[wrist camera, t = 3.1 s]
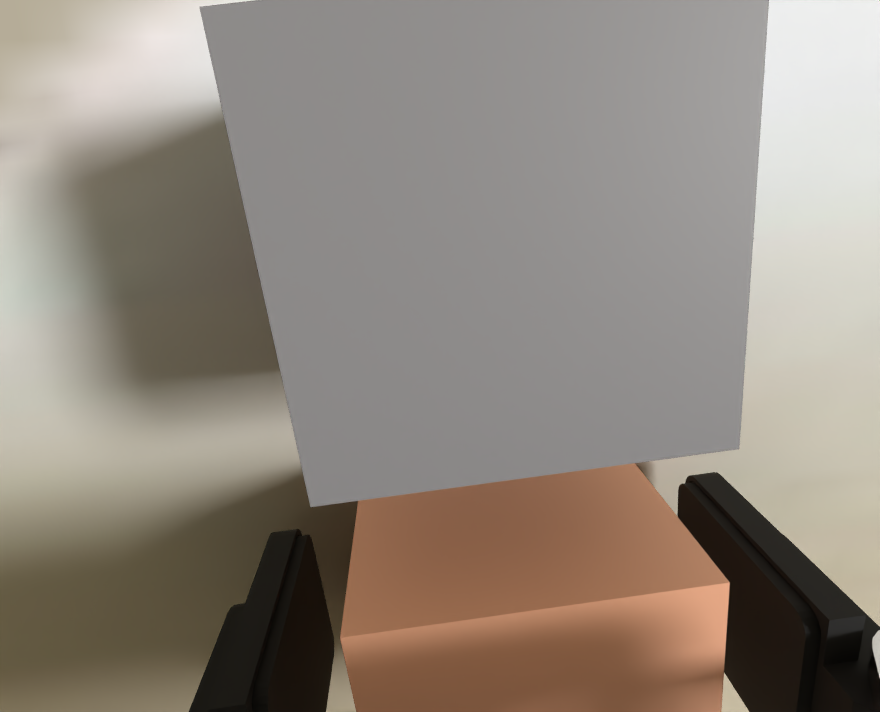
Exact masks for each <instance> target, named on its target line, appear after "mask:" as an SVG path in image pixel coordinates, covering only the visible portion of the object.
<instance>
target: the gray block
mask: <svg viewBox="0 0 880 712" xmlns="http://www.w3.org/2000/svg"><path fill="white" fill-rule="evenodd" d="M768 6H769V0H256V1H247V2H238V3H229V4H220V5H211V6H203V7H200V11H201V16H202V20H203V25H204V30H205V34H206V39H207V43H208V48H209V52H210V57H211V61H212V66H213V70H214V75H215V79H216V84H217V88H218V93H219V97H220V102H221V106H222V111H223V115H224V120H225V124H226V129H227V133H228V138H229V142H230V147H231V151H232V156H233V160H234V165H235V169H236V174H237V178H238V183H239V187H240V192H241V196H242V201H243V205H244V210H245V214H246V219H247V223H248V228H249V232H250V237H251V241H252V246H253V250H254V255H255V259H256V264H257V268H258V273H259V277H260V282H261V286H262V291H263V295H264V300H265V304H266V309H267V314H268V318H269V323H270V327H271V332H272V336H273V341H274V345H275V350H276V354H277V359H278V363H279V368H280V372H281V377H282V381H283V386H284V390H285V395H286V399H287V404H288V408H289V413H290V417H291V422H292V426H293V431H294V435H295V440H296V444H297V449H298V453H299V458H300V462H301V467H302V471H303V476H304V480H305V485H306V489H307V494H308V498H309V503H310V507H316V506H323V505H330V504H338V503H345V502H353V501H360V500H367V499H375V498H382V497H389V496H397V495H404V494H411V493H419V492H426V491H434V490H441V489H448V488H456V487H463V486H470V485H478V484H485V483H493V482H500V481H507V480H515V479H522V478H529V477H537V476H544V475H551V474H559V473H566V472H574V471H581V470H588V469H596V468H603V467H610V466H618V465H625V464H632V463H640V462H647V461H655V460H662V459H669V458H677V457H684V456H691V455H699V454H706V453H714V452H721V451H728V450H736V449H739V445H740V430H741V415H742V399H743V384H744V369H745V354H746V339H747V324H748V309H749V293H750V278H751V263H752V248H753V233H754V218H755V203H756V187H757V172H758V157H759V142H760V127H761V112H762V97H763V81H764V66H765V51H766V36H767V21H768Z"/></svg>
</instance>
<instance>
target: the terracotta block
mask: <svg viewBox="0 0 880 712" xmlns="http://www.w3.org/2000/svg"><path fill="white" fill-rule="evenodd" d="M729 588H730V582H729V581H728V580H727V578H726V577H725V576H724V575H723V573H722V572H721V571H720V570H719V568H718V567H717V566H716V565H715V563H714V562H713V561H712V560H711V558H710V557H709V556H708V554H707V553H706V552H705V551H704V549H703V548H702V547H701V546H700V544H699V543H698V542H697V541H696V539H695V538H694V537H693V536H692V534H691V533H690V532H689V531H688V529H687V528H686V527H685V526H684V524H683V523H682V522H681V521H680V519H679V518H678V517H677V515H676V514H675V513H674V512H673V510H672V509H671V508H670V507H669V505H668V504H667V503H666V502H665V500H664V499H663V498H662V497H661V495H660V494H659V493H658V492H657V490H656V489H655V488H654V487H653V485H652V484H651V483H650V482H649V480H648V479H647V478H646V476H645V475H644V474H643V473H642V471H641V470H640V469H639V468H638V466H637V465H636V464H635V463H632V464H625V465H618V466H610V467H603V468H596V469H588V470H581V471H574V472H566V473H559V474H551V475H544V476H537V477H529V478H522V479H515V480H507V481H500V482H493V483H485V484H478V485H470V486H463V487H456V488H448V489H441V490H434V491H426V492H419V493H411V494H404V495H397V496H389V497H382V498H375V499H367V500H360V501H358V506H357V514H356V521H355V529H354V536H353V544H352V551H351V559H350V567H349V574H348V582H347V589H346V597H345V604H344V612H343V619H342V627H341V635H340V640H341V644H342V649H343V654H344V658H345V663H346V667H347V672H348V676H349V681H350V685H351V690H352V694H353V699H354V703H355V708H356V712H721V708H722V693H723V678H724V663H725V648H726V633H727V618H728V603H729Z"/></svg>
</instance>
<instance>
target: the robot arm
mask: <svg viewBox="0 0 880 712" xmlns="http://www.w3.org/2000/svg"><path fill="white" fill-rule="evenodd" d="M678 518H679V519H680V521H681V522H682V523H683V524H684V526H685V527H686V528H687V529H688V531H689V532H690V533H691V534H692V536H693V537H694V538H695V539H696V541H697V542H698V543H699V544H700V546H701V547H702V548H703V549H704V551H705V552H706V553H707V554H708V556H709V557H710V558H711V560H712V561H713V562H714V563H715V565H716V566H717V567H718V568H719V570H720V571H721V572H722V573H723V575H724V576H725V577H726V578H727V580H728V581H729V582H730V588H729V603H728V618H727V633H726V648H725V663H724V673H725V674H726V676H727V677H728V679H729V680H730V682H731V683H732V685H733V687H734V688H735V690H736V691H737V693H738V694H739V696H740V698H741V699H742V701H743V702H744V704H745V705H746V707H747V708H748V710H749V712H880V627H879V626H878V625H877V624H876V623H875V622H874V621H873V620H872V619H871V618H870V617H869V616H868V615H867V614H866V613H865V612H864V611H863V610H861V609H860V608H859V607H858V606H857V605H856V604H855V603H854V602H853V601H852V600H851V599H850V598H849V597H848V596H847V595H846V594H845V593H844V592H843V591H842V590H841V589H840V588H839V587H838V586H836V585H835V584H834V583H833V582H832V581H831V580H830V579H829V578H828V577H827V576H826V575H825V574H824V573H823V572H822V571H821V570H820V569H819V568H818V567H817V566H816V565H815V564H814V563H813V562H811V561H810V560H809V559H808V558H807V557H806V556H805V555H804V554H803V553H802V552H801V551H800V550H799V549H798V548H797V547H796V546H795V545H794V544H793V543H792V542H791V541H790V540H789V539H788V538H786V537H785V536H784V535H783V534H781V533H780V532H779V531H778V530H777V529H776V528H775V527H774V526H773V525H772V524H771V523H770V522H769V521H768V520H767V519H766V518H765V517H764V516H763V515H761V514H760V513H759V512H758V511H757V510H756V509H755V508H754V507H753V506H752V505H751V504H750V503H749V502H748V501H747V500H746V499H745V498H744V497H743V496H742V495H741V494H740V493H739V492H738V491H737V490H736V489H734V488H733V487H732V486H731V485H730V484H729V483H728V482H727V481H726V480H725V479H724V478H723V477H722V476H721V475H720V474H718V473H715V472H713V473H706V474H699V475H691V476H688V477H687V479H686V483H685V484H681V485H680V486H679V490H678ZM333 657H334V636H333V631H332V627H331V622H330V618H329V613H328V609H327V605H326V600H325V596H324V591H323V587H322V583H321V578H320V574H319V569H318V565H317V561H316V556H315V552H314V547H313V543H312V539H311V537H310V535H304V536H302V533H301V531H300V530H299V529H296V530H288V531H281V532H274V533H271V535H270V537H269V539H268V542H267V545H266V547H265V550H264V553H263V556H262V559H261V561H260V564H259V567H258V570H257V572H256V575H255V578H254V581H253V583H252V586H251V589H250V592H249V595H248V597H247V600H246V603H244V604H237V605H234V606H232V607H231V608H230V610H229V612H228V614H227V616H226V619H225V621H224V624H223V626H222V629H221V631H220V634H219V637H218V639H217V642H216V644H215V647H214V649H213V652H212V654H211V657H210V659H209V662H208V665H207V667H206V670H205V672H204V675H203V677H202V680H201V682H200V685H199V687H198V690H197V693H196V695H195V698H194V700H193V703H192V705H191V708H190V710H189V712H326V707H327V700H328V693H329V686H330V679H331V672H332V664H333Z"/></svg>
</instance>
